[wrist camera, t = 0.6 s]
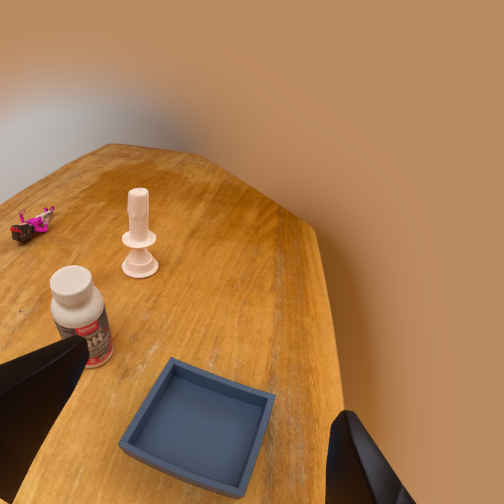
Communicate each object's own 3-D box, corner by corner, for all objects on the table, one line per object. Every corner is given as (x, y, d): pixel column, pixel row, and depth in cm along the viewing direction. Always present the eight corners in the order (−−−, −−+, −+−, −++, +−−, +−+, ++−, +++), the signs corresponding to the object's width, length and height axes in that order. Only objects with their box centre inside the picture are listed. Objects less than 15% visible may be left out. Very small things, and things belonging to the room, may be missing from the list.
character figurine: (40, 218, 44) (7, 245, 34) (38, 193, 42) (3, 216, 32) (62, 221, 45) (30, 249, 35) (61, 195, 43) (27, 219, 33)
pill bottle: (98, 378, 23) (72, 310, 18) (60, 355, 23) (30, 286, 18) (123, 341, 28) (110, 270, 22) (85, 323, 28) (68, 253, 23)
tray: (238, 499, 16) (243, 496, 15) (124, 452, 18) (117, 444, 16) (269, 407, 25) (276, 394, 23) (171, 371, 26) (171, 356, 25)
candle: (165, 265, 40) (169, 186, 33) (141, 284, 36) (138, 199, 29) (139, 251, 41) (139, 176, 35) (114, 267, 37) (108, 187, 30)
